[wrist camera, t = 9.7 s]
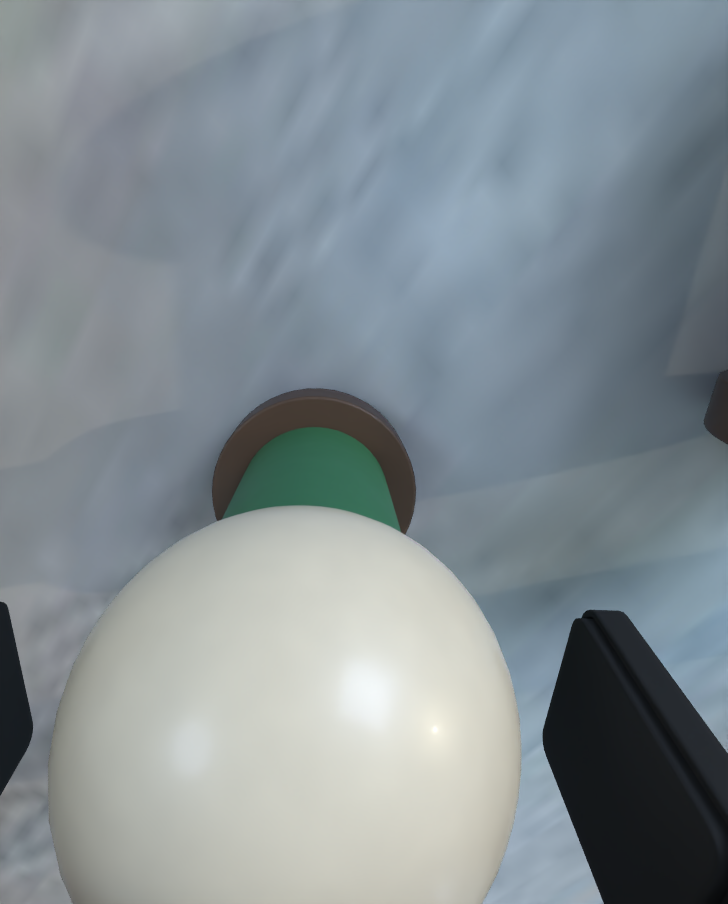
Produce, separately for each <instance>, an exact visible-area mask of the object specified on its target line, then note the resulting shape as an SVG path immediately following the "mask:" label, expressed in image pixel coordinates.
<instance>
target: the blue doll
mask: <svg viewBox="0 0 728 904" xmlns="http://www.w3.org/2000/svg"><path fill="white" fill-rule="evenodd" d="M704 425H705V427H706V429H707V430H708V431H709V432H710V433H711V434H712V435H714V436H715V437H716V438H718V439H720V440H721V441H723V442H725V443H726V444H728V370H725V371H722V372H721V373H720V374H719V375H718V378H717V381H716V384H715V387H714V390H713V394H712V397H711V400H710V403H709V406H708V409H707V412H706V415H705V418H704Z"/></svg>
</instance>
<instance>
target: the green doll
mask: <svg viewBox="0 0 728 904" xmlns="http://www.w3.org/2000/svg"><path fill="white" fill-rule="evenodd" d="M212 497H213V507H214V511H215V516H216V519H217V522H215V523H212V524H210V525H208V526H206V527H204V528H202V529H200V530H198V531H196V532H194V533H192V534H190V535H188V536H186V537H185V538H183V539H181V540H180V541H178V542H177V543H175V544H174V545H172V546H171V547H169V548H168V549H167V550H165V551H164V552H163V553H161V554H160V555H158V556H157V557H156V558H154V559H153V560H152V561H151V562H149V563H148V564H147V565H146V566H145V567H144V568H143V569H141V570H140V571H139V572H138V573H137V574H136V575H135V576H134V577H133V578H132V580H131V581H130V582H129V583H128V584H127V585H126V586H125V587H124V588H123V589H122V590H121V591H120V592H119V593H118V595H117V596H116V597H115V598H114V599H113V601H112V602H111V603H110V605H109V606H108V607H107V609H106V610H105V611H104V613H103V614H102V616H101V617H100V618H99V620H98V621H97V622H96V624H95V626H94V627H93V629H92V631H91V632H90V634H89V636H88V637H87V639H86V641H85V643H84V645H83V647H82V649H81V651H80V653H79V655H78V657H77V659H76V660H75V662H74V665H73V667H72V670H71V673H70V675H69V678H68V680H67V683H66V686H65V689H64V692H63V695H62V698H61V701H60V704H59V707H58V710H57V714H56V720H55V726H54V732H53V737H52V743H51V749H50V755H49V761H48V804H49V824H50V828H51V833H52V838H53V843H54V848H55V852H56V857H57V861H58V866H59V870H60V874H61V878H62V880H63V882H64V885H65V887H66V889H67V891H68V894H69V896H70V898H71V900H72V903H73V904H482V903H483V901H484V899H485V897H486V896H487V894H488V892H489V890H490V888H491V886H492V884H493V882H494V880H495V878H496V876H497V873H498V871H499V868H500V865H501V862H502V860H503V857H504V854H505V851H506V849H507V846H508V842H509V838H510V835H511V831H512V827H513V824H514V819H515V813H516V808H517V802H518V797H519V787H520V776H521V735H520V721H519V714H518V709H517V703H516V698H515V693H514V689H513V685H512V680H511V676H510V672H509V670H508V667H507V664H506V662H505V659H504V656H503V654H502V651H501V649H500V646H499V644H498V641H497V639H496V636H495V634H494V632H493V630H492V628H491V627H490V625H489V623H488V622H487V620H486V618H485V616H484V615H483V613H482V611H481V610H480V608H479V606H478V605H477V603H476V601H475V599H474V598H473V597H472V596H471V594H470V593H469V592H468V591H467V590H466V588H465V587H464V586H463V585H462V583H461V582H460V581H459V580H458V579H457V577H456V576H455V575H454V574H453V573H452V571H451V570H450V569H448V568H447V567H446V566H445V565H444V564H443V563H442V562H441V561H439V560H438V559H437V558H436V557H435V556H434V555H433V554H432V553H430V552H429V551H428V550H427V549H426V548H425V547H423V546H422V545H420V544H419V543H417V542H416V541H414V540H413V539H411V538H409V537H408V536H406V535H405V534H406V532H407V529H408V527H409V525H410V522H411V519H412V516H413V512H414V506H415V498H416V486H415V477H414V472H413V468H412V464H411V462H410V459H409V457H408V454H407V452H406V450H405V448H404V446H403V444H402V442H401V440H400V438H399V436H398V434H397V433H396V431H395V429H394V428H393V427H392V426H391V424H390V423H389V422H388V420H387V419H386V418H385V417H383V416H382V415H381V414H380V413H379V412H378V411H377V410H376V409H374V408H373V407H372V406H370V405H369V404H367V403H366V402H364V401H362V400H360V399H358V398H356V397H354V396H351V395H349V394H346V393H343V392H339V391H335V390H328V389H302V390H295V391H291V392H287V393H284V394H281V395H279V396H276V397H274V398H271V399H270V400H268V401H266V402H264V403H263V404H261V405H259V406H258V407H257V408H256V409H254V410H253V411H252V412H251V413H249V414H248V415H247V417H246V418H245V419H244V420H243V421H242V422H241V423H240V424H239V426H238V427H237V428H236V430H235V431H234V433H233V434H232V435H231V437H230V438H229V440H228V441H227V442H226V444H225V446H224V448H223V450H222V451H221V453H220V456H219V458H218V461H217V464H216V467H215V471H214V476H213V485H212Z"/></svg>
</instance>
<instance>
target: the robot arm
mask: <svg viewBox="0 0 728 904" xmlns="http://www.w3.org/2000/svg"><path fill="white" fill-rule="evenodd" d="M32 733H33V721H32V717H31V712H30V707H29V703H28V698H27V694H26V689H25V684H24V680H23V675H22V670H21V666H20V661H19V656H18V652H17V647H16V642H15V638H14V633H13V628H12V624H11V619H10V615H9V610H8V607H7V605H6V604H5V603H4V602H0V795H1V794H2V792H3V790H4V788H5V787H6V785H7V783H8V781H9V780H10V778H11V776H12V774H13V773H14V771H15V769H16V767H17V766H18V764H19V762H20V761H21V759H22V757H23V755H24V754H25V752H26V750H27V748H28V746H29V744H30V741H31V737H32ZM543 746H544V751H545V754H546V757H547V759H548V762H549V764H550V767H551V769H552V772H553V775H554V777H555V780H556V782H557V785H558V787H559V790H560V792H561V795H562V798H563V800H564V803H565V805H566V808H567V810H568V813H569V815H570V818H571V821H572V823H573V826H574V828H575V831H576V833H577V836H578V838H579V841H580V844H581V846H582V849H583V851H584V854H585V856H586V859H587V861H588V864H589V866H590V869H591V872H592V874H593V877H594V879H595V882H596V884H597V887H598V889H599V892H600V895H601V897H602V900H603V902H604V904H728V753H727V752H726V751H725V749H724V748H723V747H722V745H721V744H720V742H719V741H718V740H717V738H716V737H715V736H714V734H713V733H712V732H711V730H710V729H709V727H708V726H707V725H706V723H705V722H704V721H703V719H702V718H701V716H700V715H699V714H698V712H697V711H696V710H695V708H694V707H693V705H692V704H691V703H690V701H689V700H688V699H687V697H686V696H685V695H684V693H683V692H682V690H681V689H680V688H679V686H678V685H677V684H676V682H675V681H674V679H673V678H672V677H671V675H670V674H669V673H668V671H667V670H666V668H665V667H664V666H663V664H662V663H661V662H660V660H659V659H658V658H657V656H656V655H655V653H654V652H653V651H652V649H651V648H650V647H649V645H648V644H647V642H646V641H645V640H644V638H643V637H642V636H641V634H640V633H639V631H638V630H637V629H636V627H635V626H634V625H633V623H632V622H631V621H630V619H629V618H628V616H627V615H626V614H625V613H624V612H621V611H608V610H587V611H586V612H585V613H584V614H583V616H582V618H578V619H575V620H574V622H573V624H572V627H571V631H570V634H569V638H568V642H567V645H566V649H565V652H564V656H563V660H562V663H561V667H560V671H559V674H558V678H557V681H556V685H555V689H554V692H553V696H552V699H551V703H550V707H549V710H548V714H547V717H546V721H545V725H544V728H543Z"/></svg>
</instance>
